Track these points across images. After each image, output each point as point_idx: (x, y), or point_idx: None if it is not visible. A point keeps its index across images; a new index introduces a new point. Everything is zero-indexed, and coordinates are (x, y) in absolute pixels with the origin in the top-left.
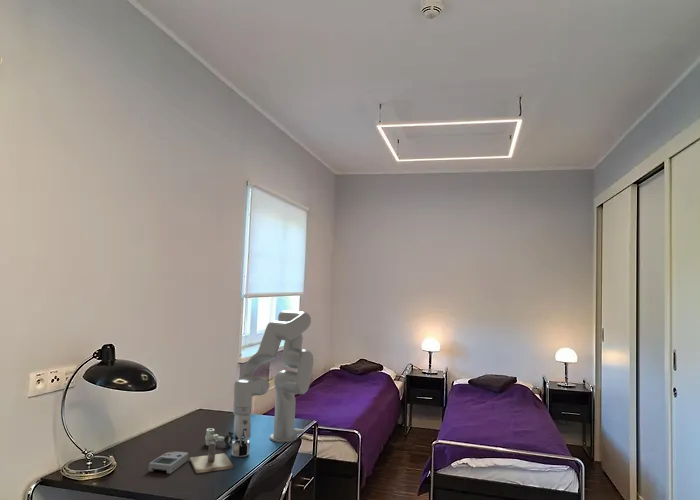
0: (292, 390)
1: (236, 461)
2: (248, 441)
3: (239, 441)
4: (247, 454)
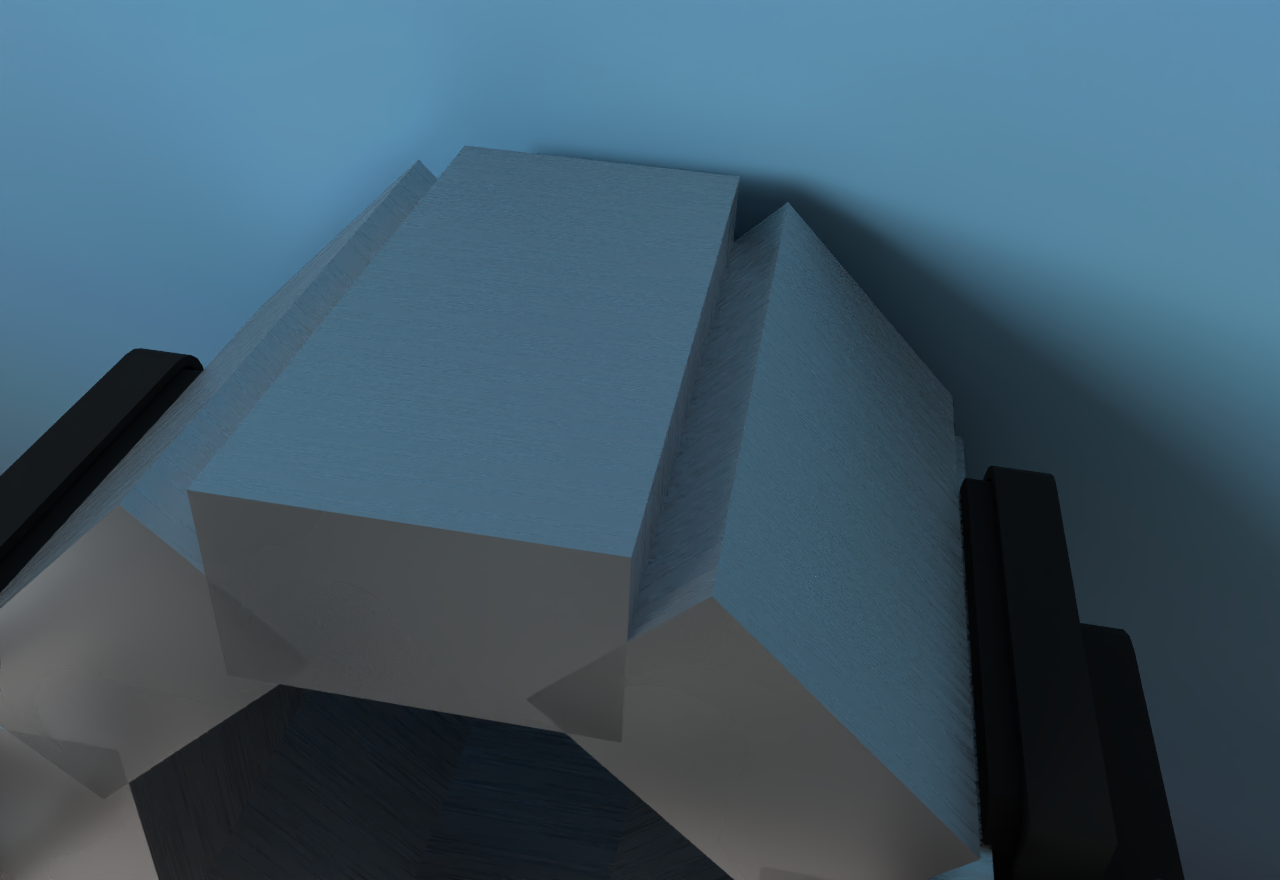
0: None
1: (1165, 790)
2: (577, 621)
3: (195, 803)
4: (892, 340)
